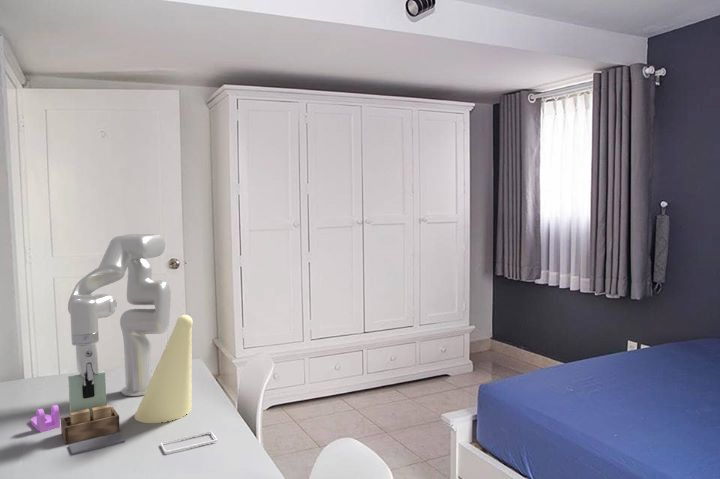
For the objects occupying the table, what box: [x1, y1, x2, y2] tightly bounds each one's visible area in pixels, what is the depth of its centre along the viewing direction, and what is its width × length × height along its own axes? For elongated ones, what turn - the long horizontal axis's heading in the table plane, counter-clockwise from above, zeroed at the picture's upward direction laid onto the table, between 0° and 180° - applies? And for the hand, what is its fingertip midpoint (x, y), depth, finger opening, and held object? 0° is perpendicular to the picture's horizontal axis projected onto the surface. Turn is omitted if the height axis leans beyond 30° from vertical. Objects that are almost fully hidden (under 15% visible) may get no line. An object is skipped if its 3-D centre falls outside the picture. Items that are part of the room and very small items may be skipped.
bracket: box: [30, 404, 61, 433], centre depth 175 cm, size 13×6×7 cm, turn 46°
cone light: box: [134, 314, 194, 424], centre depth 181 cm, size 25×18×35 cm
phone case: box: [160, 431, 218, 455], centre depth 159 cm, size 7×1×15 cm
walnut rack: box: [60, 406, 121, 445], centre depth 168 cm, size 15×9×5 cm, turn 126°
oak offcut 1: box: [69, 409, 90, 425], centre depth 165 cm, size 5×2×8 cm, turn 126°
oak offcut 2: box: [92, 404, 112, 421], centre depth 168 cm, size 5×2×8 cm, turn 126°
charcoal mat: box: [68, 431, 126, 456], centre depth 160 cm, size 14×7×1 cm, turn 126°
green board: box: [67, 370, 107, 421], centre depth 170 cm, size 10×2×18 cm, turn 126°
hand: (87, 395), depth 170 cm, fingers closed on green board, 2 cm apart
